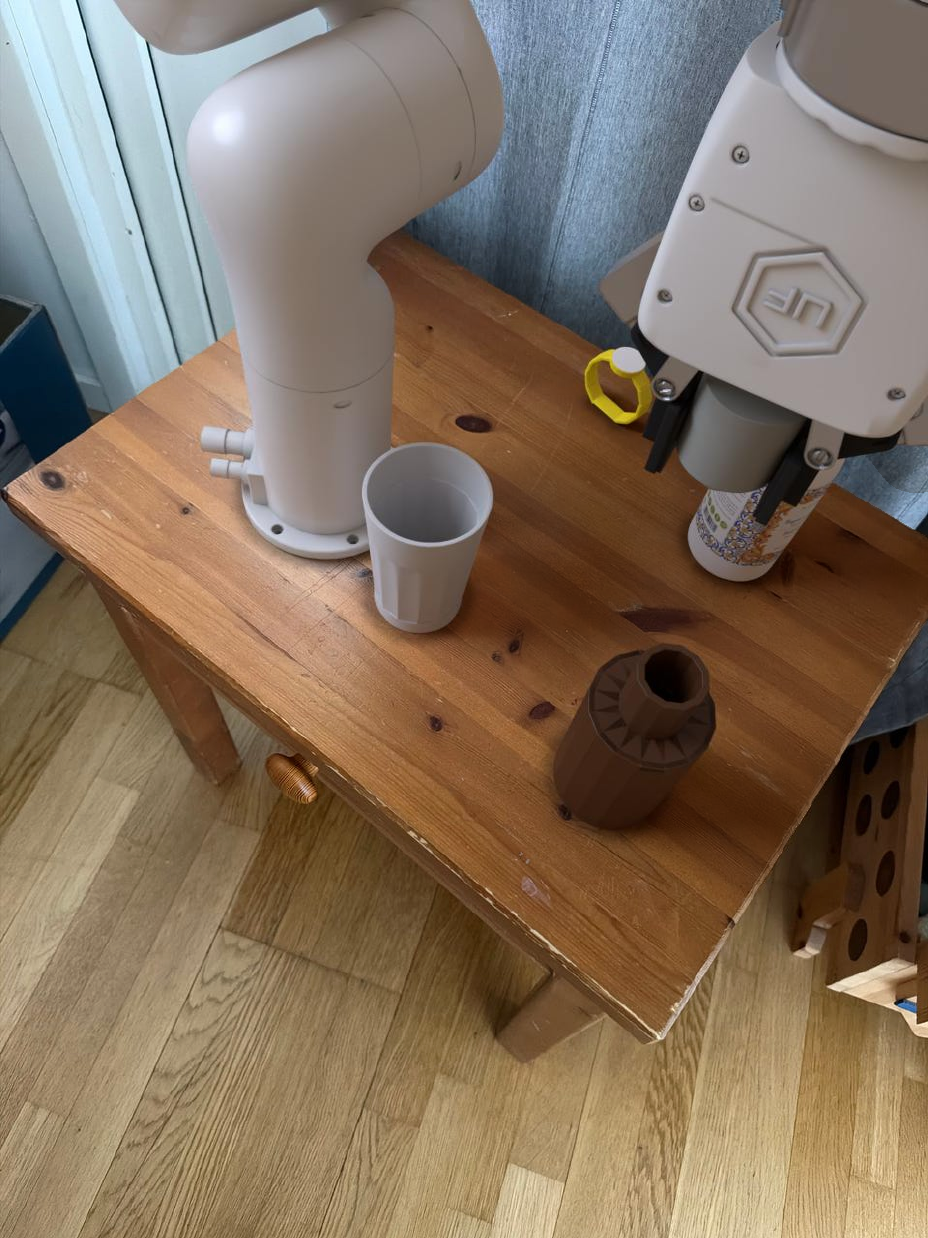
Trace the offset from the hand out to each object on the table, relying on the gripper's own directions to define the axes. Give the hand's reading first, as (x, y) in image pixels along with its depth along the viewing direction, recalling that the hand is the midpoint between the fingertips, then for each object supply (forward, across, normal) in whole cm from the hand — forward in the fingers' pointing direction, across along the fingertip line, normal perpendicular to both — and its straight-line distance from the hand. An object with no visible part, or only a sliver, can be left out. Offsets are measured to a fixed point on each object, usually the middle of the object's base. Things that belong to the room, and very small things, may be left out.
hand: (716, 473), depth 39 cm
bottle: (+26, +2, -3) cm, 26 cm away
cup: (+26, -15, +2) cm, 30 cm away
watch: (+26, -11, +26) cm, 38 cm away
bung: (0, 0, 0) cm, 0 cm away
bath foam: (+26, +3, +19) cm, 32 cm away
